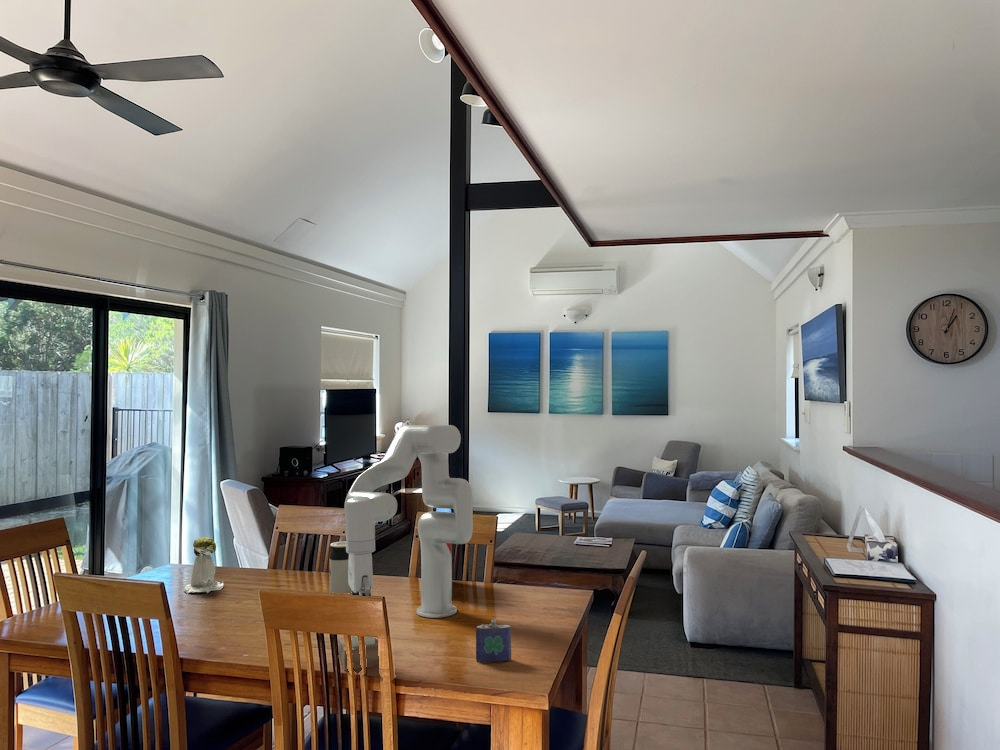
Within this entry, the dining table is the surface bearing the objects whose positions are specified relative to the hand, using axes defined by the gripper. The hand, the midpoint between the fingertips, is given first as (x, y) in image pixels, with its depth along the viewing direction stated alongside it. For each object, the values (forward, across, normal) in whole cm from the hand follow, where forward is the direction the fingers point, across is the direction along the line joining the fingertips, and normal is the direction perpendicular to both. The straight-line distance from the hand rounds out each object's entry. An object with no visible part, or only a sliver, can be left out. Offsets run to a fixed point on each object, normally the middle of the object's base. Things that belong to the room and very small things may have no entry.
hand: (362, 610), depth 194 cm
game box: (+15, -57, +39) cm, 71 cm away
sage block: (+8, +1, -1) cm, 8 cm away
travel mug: (+15, -62, +4) cm, 64 cm away
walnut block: (+13, +1, -1) cm, 13 cm away
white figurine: (+14, -90, -40) cm, 100 cm away
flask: (+14, +14, +31) cm, 37 cm away
